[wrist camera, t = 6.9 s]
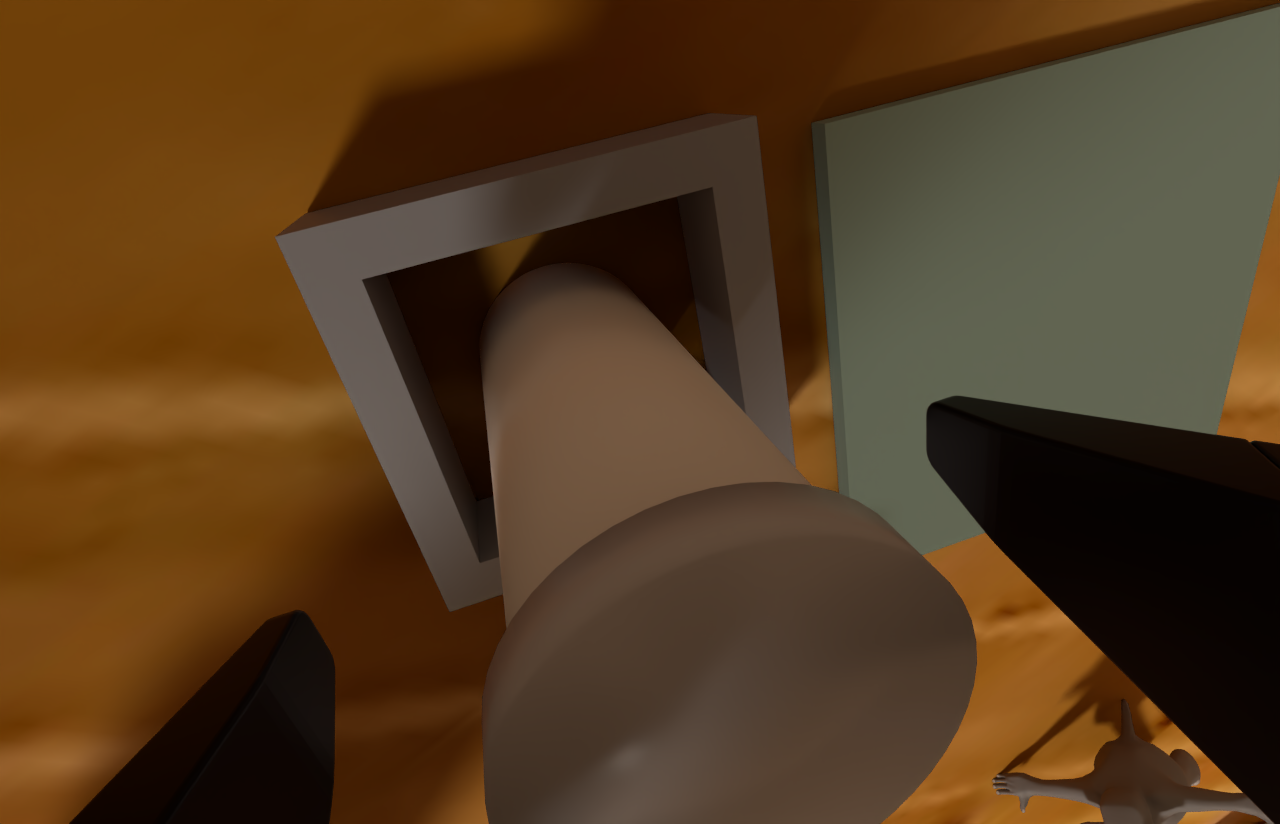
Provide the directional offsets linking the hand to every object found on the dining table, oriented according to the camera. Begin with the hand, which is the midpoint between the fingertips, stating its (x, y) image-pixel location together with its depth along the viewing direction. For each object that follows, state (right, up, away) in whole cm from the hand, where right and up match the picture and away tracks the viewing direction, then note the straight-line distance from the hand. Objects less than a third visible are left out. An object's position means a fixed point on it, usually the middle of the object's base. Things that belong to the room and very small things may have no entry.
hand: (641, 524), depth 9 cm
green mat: (+11, +4, +9) cm, 15 cm away
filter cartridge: (-2, +3, +6) cm, 7 cm away
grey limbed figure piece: (+19, -12, +19) cm, 30 cm away
